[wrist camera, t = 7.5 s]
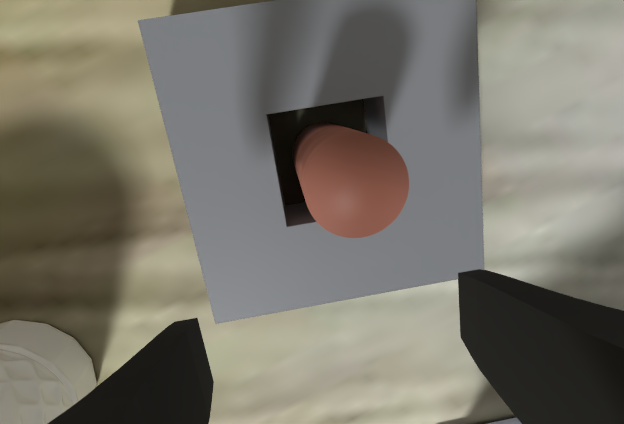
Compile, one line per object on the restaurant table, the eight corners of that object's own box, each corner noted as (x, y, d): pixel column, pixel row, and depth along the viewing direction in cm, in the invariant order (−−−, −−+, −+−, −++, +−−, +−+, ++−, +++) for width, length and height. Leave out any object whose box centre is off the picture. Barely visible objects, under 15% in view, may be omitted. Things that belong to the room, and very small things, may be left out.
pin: (351, 118, 18) (406, 127, 10) (356, 180, 19) (411, 230, 11) (288, 125, 18) (297, 140, 10) (296, 187, 19) (310, 244, 11)
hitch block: (436, -3, 17) (475, -30, 14) (449, 246, 20) (484, 274, 17) (166, 37, 16) (137, 20, 13) (225, 286, 20) (215, 323, 16)
